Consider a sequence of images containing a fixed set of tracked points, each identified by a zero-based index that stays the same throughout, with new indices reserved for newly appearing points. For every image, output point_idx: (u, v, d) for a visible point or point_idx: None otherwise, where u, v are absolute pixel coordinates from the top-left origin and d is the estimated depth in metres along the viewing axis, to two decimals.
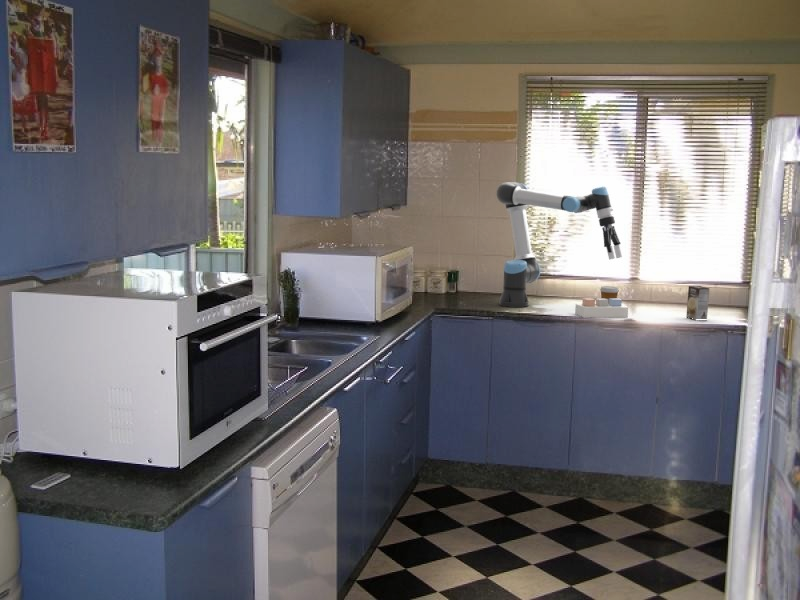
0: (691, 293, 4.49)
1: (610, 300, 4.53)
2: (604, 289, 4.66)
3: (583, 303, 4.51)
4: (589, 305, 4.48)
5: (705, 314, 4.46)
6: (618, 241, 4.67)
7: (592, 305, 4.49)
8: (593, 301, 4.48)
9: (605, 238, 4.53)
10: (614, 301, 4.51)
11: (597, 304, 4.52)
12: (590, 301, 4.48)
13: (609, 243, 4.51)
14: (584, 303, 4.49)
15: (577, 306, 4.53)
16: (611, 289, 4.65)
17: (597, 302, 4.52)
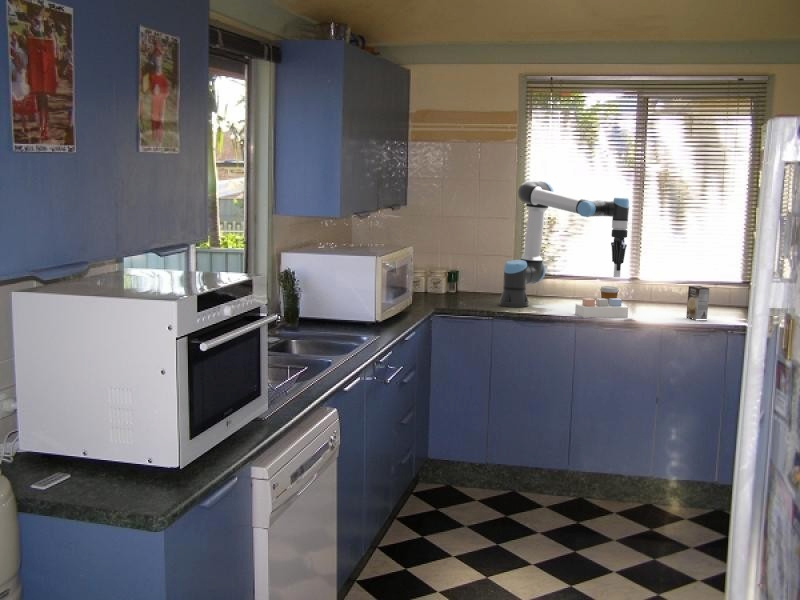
0: (691, 293, 4.49)
1: (610, 300, 4.53)
2: (604, 289, 4.66)
3: (583, 303, 4.51)
4: (589, 305, 4.48)
5: (705, 314, 4.46)
6: None
7: (592, 305, 4.49)
8: (593, 301, 4.48)
9: (621, 256, 4.46)
10: (614, 301, 4.51)
11: (597, 304, 4.52)
12: (590, 301, 4.48)
13: None
14: (584, 303, 4.49)
15: (577, 306, 4.53)
16: (611, 289, 4.65)
17: (597, 302, 4.52)
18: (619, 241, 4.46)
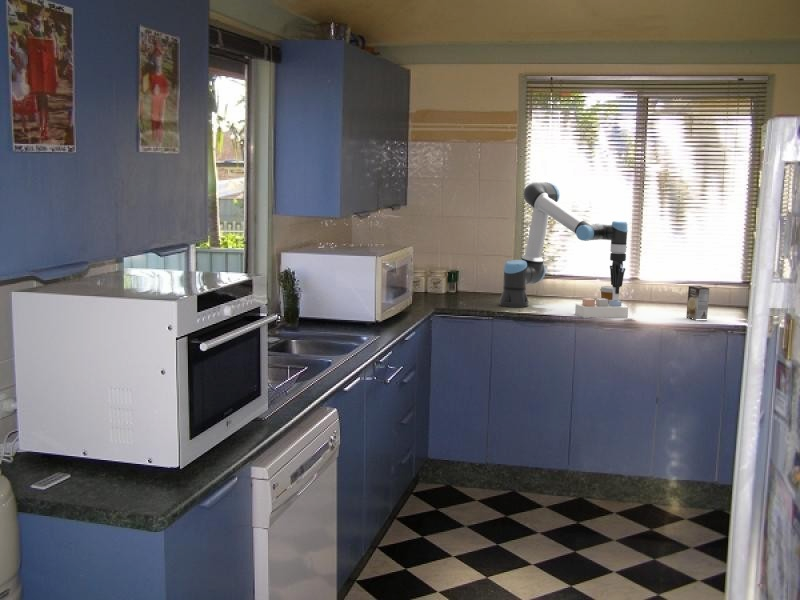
0: (691, 293, 4.49)
1: (610, 302, 4.53)
2: (604, 289, 4.66)
3: (583, 303, 4.51)
4: (589, 305, 4.48)
5: (705, 314, 4.46)
6: None
7: (592, 305, 4.49)
8: (593, 301, 4.48)
9: (620, 280, 4.47)
10: (614, 303, 4.51)
11: (597, 304, 4.52)
12: (590, 301, 4.48)
13: (621, 285, 4.49)
14: (584, 303, 4.49)
15: (577, 306, 4.53)
16: (611, 289, 4.65)
17: (597, 302, 4.52)
18: (618, 265, 4.48)
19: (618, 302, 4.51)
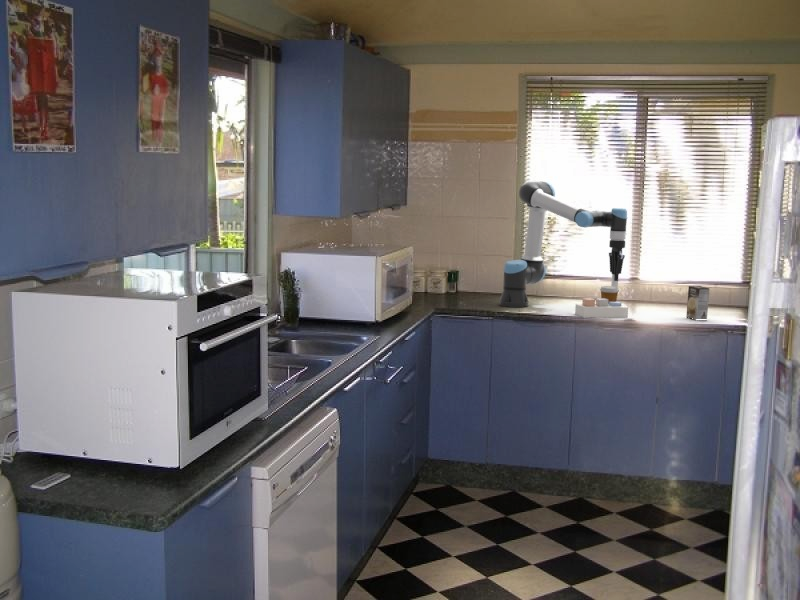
0: (691, 293, 4.49)
1: (610, 303, 4.54)
2: (604, 289, 4.66)
3: (583, 303, 4.51)
4: (589, 305, 4.48)
5: (705, 314, 4.46)
6: None
7: (592, 305, 4.49)
8: (593, 301, 4.48)
9: (619, 267, 4.46)
10: (614, 304, 4.51)
11: (597, 304, 4.52)
12: (590, 301, 4.48)
13: (620, 272, 4.48)
14: (584, 303, 4.49)
15: (577, 306, 4.53)
16: (611, 289, 4.65)
17: (597, 302, 4.52)
18: (617, 252, 4.47)
19: (618, 304, 4.51)
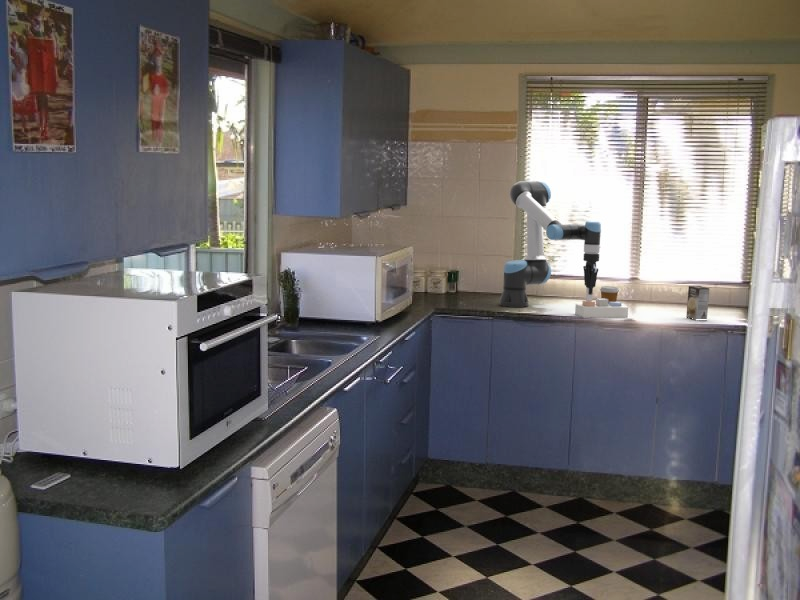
0: (691, 293, 4.49)
1: (610, 303, 4.54)
2: (604, 289, 4.66)
3: (583, 305, 4.51)
4: None
5: (705, 314, 4.46)
6: None
7: None
8: (593, 303, 4.49)
9: (593, 280, 4.45)
10: (614, 304, 4.51)
11: (597, 304, 4.52)
12: (590, 303, 4.48)
13: None
14: None
15: (577, 306, 4.53)
16: (611, 289, 4.65)
17: (597, 302, 4.52)
18: (591, 265, 4.45)
19: (618, 304, 4.51)
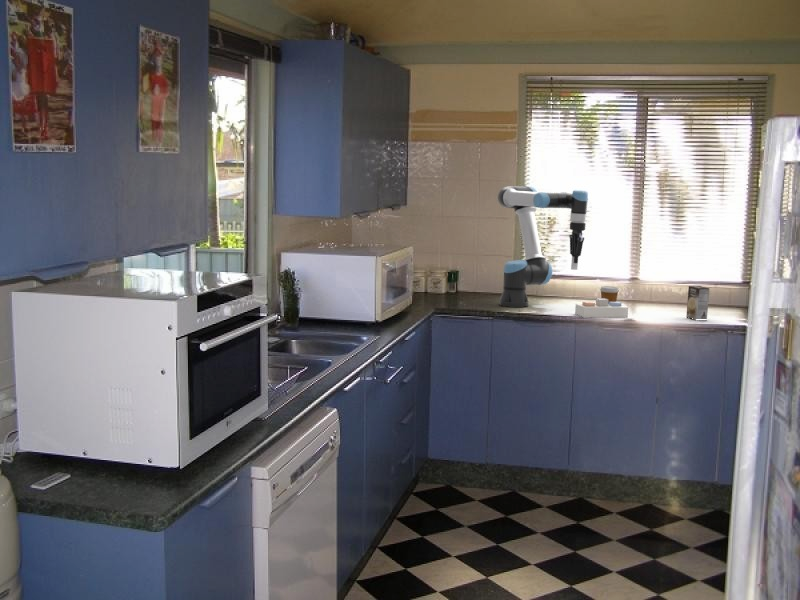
0: (691, 293, 4.49)
1: (610, 303, 4.54)
2: (604, 289, 4.66)
3: None
4: None
5: (705, 314, 4.46)
6: None
7: None
8: (593, 304, 4.49)
9: (578, 249, 4.47)
10: (614, 304, 4.51)
11: (597, 304, 4.52)
12: (590, 304, 4.48)
13: (580, 255, 4.49)
14: None
15: (577, 306, 4.53)
16: (611, 289, 4.65)
17: (597, 302, 4.52)
18: (577, 234, 4.47)
19: (618, 304, 4.51)
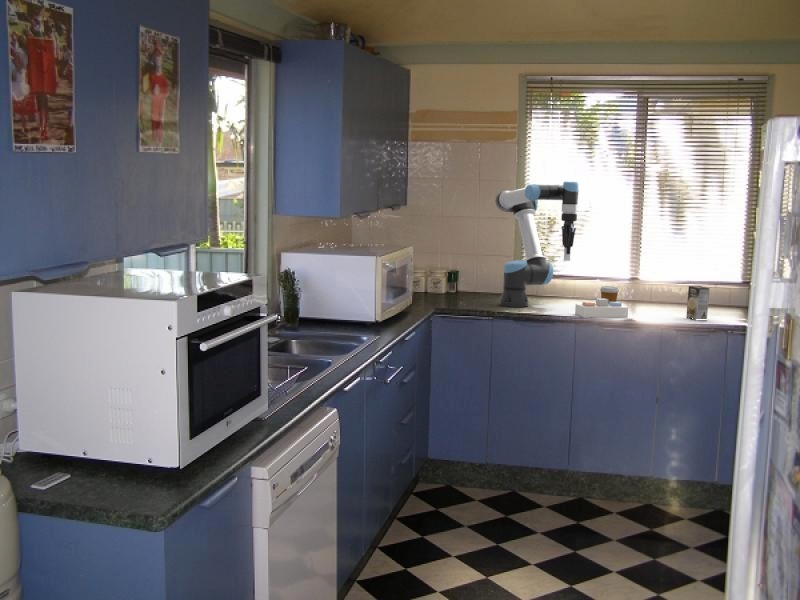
0: (691, 293, 4.49)
1: (610, 303, 4.54)
2: (604, 289, 4.66)
3: None
4: None
5: (705, 314, 4.46)
6: None
7: None
8: (593, 304, 4.49)
9: (570, 240, 4.49)
10: (614, 304, 4.51)
11: (597, 304, 4.52)
12: (590, 304, 4.48)
13: (572, 245, 4.51)
14: None
15: (577, 306, 4.53)
16: (611, 289, 4.65)
17: (597, 302, 4.52)
18: (568, 225, 4.49)
19: (618, 304, 4.51)
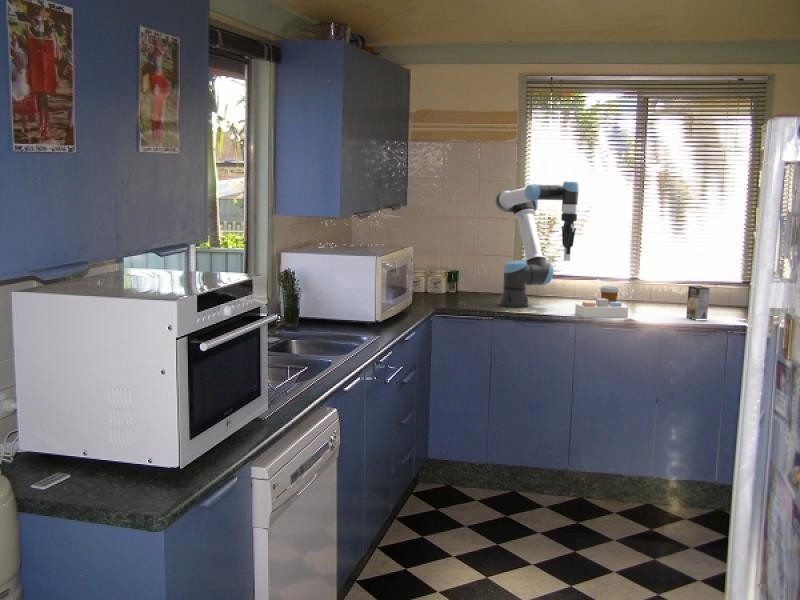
0: (691, 293, 4.49)
1: (610, 303, 4.54)
2: (604, 289, 4.66)
3: None
4: None
5: (705, 314, 4.46)
6: None
7: None
8: (593, 304, 4.49)
9: (570, 240, 4.49)
10: (614, 304, 4.51)
11: (597, 304, 4.52)
12: (590, 304, 4.48)
13: (572, 245, 4.51)
14: None
15: (577, 306, 4.53)
16: (611, 289, 4.65)
17: (597, 302, 4.52)
18: (568, 225, 4.49)
19: (618, 304, 4.51)
